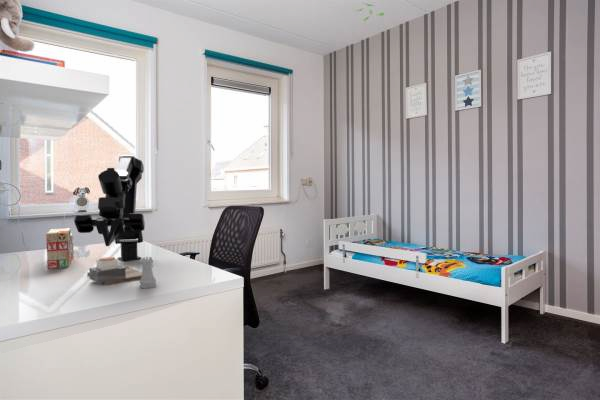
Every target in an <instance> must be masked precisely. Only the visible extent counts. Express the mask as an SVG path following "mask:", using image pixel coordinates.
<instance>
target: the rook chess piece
mask: <svg viewBox="0 0 600 400" xmlns="http://www.w3.org/2000/svg"><path fill="white" fill-rule="evenodd" d="M153 262H154V260H153V257H152V256H151V257H150V256H149V257H148V256H146V257H141V261H140V264H141V265H142V266H141V268H142V272H143V273H142V278H141V279H139V282H138V283H139V285H138V286H139V287H140V289H151V288H154V287H156V286H157V283H156V281H157V280H156V278H155V276H154V274H153V273H154V272H153Z"/></svg>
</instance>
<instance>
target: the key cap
mask: <svg viewBox="0 0 600 400" xmlns="http://www.w3.org/2000/svg"><path fill="white" fill-rule="evenodd" d="M95 263H96V267H97V269H98V270H100V271H104V270H110V269H116V268H118V265H119V259H118V258H116V257H112V256H109V257H101V258H99V259H96V262H95Z"/></svg>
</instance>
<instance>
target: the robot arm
mask: <svg viewBox="0 0 600 400" xmlns="http://www.w3.org/2000/svg"><path fill="white" fill-rule="evenodd" d="M118 158H119V159H118V163H117V165H116V168H115V167H107V168H106V170H103V171H101V172H100V173H99V174H98V175H97V176H98V177H97V178H98V181H99V185H100V186H101V187H100V188H101V190H102V194H103V195H105V196H104V197H102V196H101V197H99V198H98V203H97V209H98V210H99V212H98V215H99V216H97V217H96V219H93V218H92V215H91V214H77V215H75V217H74V219H73V222H74V225H75V228H76V230H77V233H79V234H87V233H92V232H94V229H95V228H96V230H97V233H98V234H99V235H101V236H102V237H103V240H104V244H105V245H104V246H105V247H109V246H111V245H112V243H113V242H114V241H115V245H118V244H120V256H119V257H117V259H118V261H119V260H120V261H123V262H127V261H134V260H142V257H141V256H139V255H138V253H139V251H138V244H141V243H143V242H144V236H143V231H145V226H146V224H145V223H146V222H145V217H144V214H143V213H141V212H138V213H136V206H137V205H136V203H137V189H138V188H137V186H138V184H139V182H140V181H141V180H142V178H143V173H144V171H145V169H144V163H143V161H142V160H141V159H138V158H136V156H134V155H132V154H131V155H129V154H127V155H126V154H123V155H120V156H119V157H118ZM109 227H110V229H109Z"/></svg>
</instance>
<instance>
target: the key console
mask: <svg viewBox="0 0 600 400" xmlns="http://www.w3.org/2000/svg"><path fill="white" fill-rule="evenodd" d="M86 273H87V277H89V279H90V280H92V281H94V282H95V283H97V284H101V283H102V285H103V286H106V287H107V286H110V285H116V284H122V283H126V282H133V281H137V280H141V278H142V273H143V271H140V270H137V269H134V268H133V267H130V266H122V265H120V264H118V268H116V269H110V270H104V271H100V270H98V269H97V266H95V267H89V272H86Z"/></svg>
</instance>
